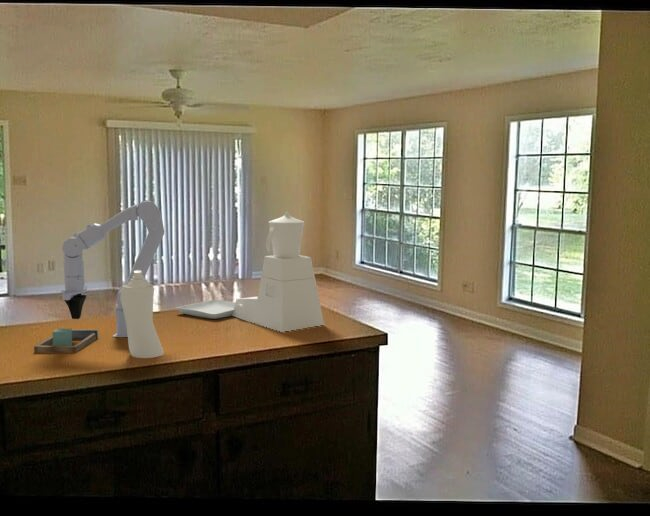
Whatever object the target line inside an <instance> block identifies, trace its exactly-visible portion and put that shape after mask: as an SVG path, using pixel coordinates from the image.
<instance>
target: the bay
mask: <svg viewBox="0 0 650 516" xmlns="http://www.w3.org/2000/svg"><path fill="white" fill-rule="evenodd" d="M96 340H97V339H96V333H93V334H91V335H90V336H88V337H87V338H85V339H81V340H80V341H79V342H78V343H76V344H75V345H72V346H53V335H51V336H49V337H48V338H46V339H45V340H43V341H41V342H40V343H38V344H35V345H34V346H33V350H34V351H33V353H34V354H35V353H37V354H41V353H42V354H43V353H44V354H45V353H46V354H47V353H49V354H52V353H53V354H54V353H55V354H57V353H58V354H60V353H64V354H67V353H70V354H71V353H75V354H77V353H78V352H79V350H80V351H81V350H82V348H83V349H84V348H86V347H87V346H89V345H90V344H92V343H93V342H95V341H96ZM88 344H89V345H88ZM85 346H86V347H85Z"/></svg>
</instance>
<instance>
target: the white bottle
mask: <svg viewBox="0 0 650 516" xmlns="http://www.w3.org/2000/svg"><path fill="white" fill-rule="evenodd" d="M124 284H125V283H124ZM124 284H123V285H122V286H121V287H123V288H122V290H121V297H120V299H121V303H122V308H123V312H124V316H125V321H126V328H127V336H128V338H127V342H128V343H127V344H128V350H129V353H130V355H131V357H133V358H137V359H151V358H158V357H161V356H163V355H164V354H165V353H164V349H163V346H162V344H161V341H160V337H159V335H158V333H157V330H156V327H155V324H154V322H153V321H154V319H153V318H154V316H153V315H154V294H155V293H154V292H155V287H154V284H152V283H149V281H147V280H146V277H144V278H143V275H142V271H140V270H136V271H134V276H133V278H132V279H130V282H129V283H128V284H125V285H124Z"/></svg>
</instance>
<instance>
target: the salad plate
mask: <svg viewBox="0 0 650 516" xmlns="http://www.w3.org/2000/svg"><path fill="white" fill-rule="evenodd" d="M235 303H236V302H233V301H226V300H219V299H212V300H206V301H201V302H196V303H190V304H185V305H181V306H176V307H175V310H177V311H178V312H180V313H182V314H185V315H188V316H193V317H198V318H205V319H210V320H218V319H222V318H223V319H224V318H228V317H233V316H232V314H233V311H234V306H235Z"/></svg>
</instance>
